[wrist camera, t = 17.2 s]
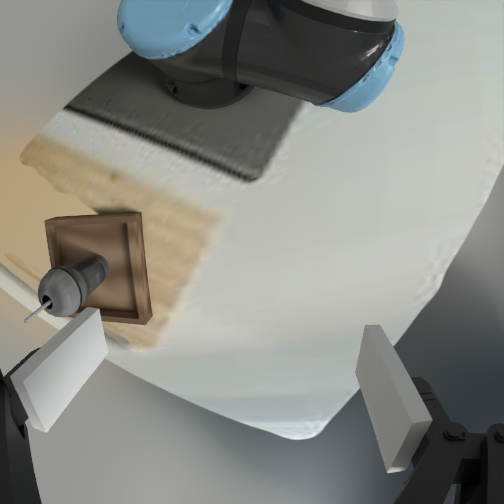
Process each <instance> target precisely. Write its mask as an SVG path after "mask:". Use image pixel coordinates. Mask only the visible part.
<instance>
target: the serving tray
mask: <svg viewBox="0 0 504 504" xmlns="http://www.w3.org/2000/svg"><path fill="white" fill-rule="evenodd" d="M45 228H46V236H47V242H48V249H49V256H50V262H51V267H52V269H53V268H55V267H61V266H66V265H69V264H71V263H74V262H76V261H79V260H81V259H84V258H87V257H89V256H93V255H101V256H103V257H104V258H105V259H106V260H107V261H108V264H109V267H110V271H109V275H108V276H107V277H106V278H105V280H104V281H103V282H102V283H101V284H100V285H99V286H98V287H97V288H96V289H95V290H94V291H93V292H92V293H91V294H90V295H89V296H88V297H87V298H86V299H85V301H84V303H83V304H82V306H81V307H80V309H79V310H78V311H77V312H76V313H74V314H72V315H69V316H66V317H74V318H75V317H76V316H77V315H79V314H80V313H81V312H82V311H83V310H84V309H86V308H87V307H91V308H99V310H100V316H101V321H108V322H118V323H129V324H140V325H146V324H147V322H148V321H149V320H150V318H151V317H152V316H153V315H152V308H151V301H150V294H149V286H148V278H147V269H146V260H145V250H144V240H143V228H142V215H141V213H120V214H99V215H81V216H64V217H55V218H51V219H48V220H45Z"/></svg>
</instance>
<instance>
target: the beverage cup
mask: <svg viewBox="0 0 504 504" xmlns="http://www.w3.org/2000/svg"><path fill="white" fill-rule="evenodd" d="M109 271H110V267H109V264H108V261H107V260H106V259H105V258H104V257H103V256H101V255H93V256H89V257H87V258H84V259H81V260H79V261H76V262H74V263H71V264H69V265H66V266H61V267H55V268H53V269H50V270H49V271H48V273H46V274H45V276H44V277H43V278H42V280H41V281H40V285H39V288H38V297H39V301H40V303H41V307H40V308H38V309H37V310H36V311H35V312H34V313H32V314H31V315H30V316H29V317H27V318H26V319H25V320H24V322H25V323H27V322H28V321H30V320H31V319H32V318H33V317H34V316H36V315H37V314H38V313H39V312H41V311H42V310H43V309H44V310H45V311H46V312H48V313H49V314H51V315H53V316H55V317H66V316H69V315H72V314H74V313H76V312H77V311H78V310H79V309H80V307H81V306H82V304H83V303H84V301H85V299H86V298H87V297H88V296H89V295H90V294H91V293H92V292H93V291H94V290H95V289H96V288H97V287H98V286H99V285H100V284H101V283H102V282H103V281H104V280H105V278H106V277H107V276H108V275H109Z"/></svg>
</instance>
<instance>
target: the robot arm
mask: <svg viewBox="0 0 504 504" xmlns="http://www.w3.org/2000/svg"><path fill="white" fill-rule="evenodd" d="M398 13H399V10H398V7H397V5H396V3H395V1H394V0H121V3H120V5H119V10H118V16H117V22H118V29H119V31H120V33H121V36H122V37H123V39H124V40H125V41H126V43H128V45H129V46H130V48H131V49H132V50H133V51H134V52H135V53H136V54H139V56H141V57H144V58H145V59H147V60H148V61H149V62H151V63H152V64H153V65H155V66H156V67H158V68H159V69H160V70H161V73H162V77H163V80H164V82H165V84H166V86H167V88H168V89H169V90H170V92H171V93H172V94H173V95H174V96H176V97H177V98H178V99H180V100H181V101H183V102H184V103H186V104H188V105H191V106H194V107H197V108H203V109H215V108H221V107H225V106H228V105H231V104H233V103H235V102H237V101H239V100H240V99H242V98H243V97H245V96H246V95H247V94H248V93H249V92H250V91H251V90H252V89H253V88H254V86H256V87H260V88H263V89H267V90H271V91H274V92H278V93H281V94H285V95H288V96H291V97H295V98H298V99H301V100H304V101H307V102H310V103H312V104H314V105H315V106H320V107H329V108H332V109H336V110H339V111H342V112H349V113H352V112H357V111H360V110H362V109H364V108H366V107H367V106H368V105H370V104H371V103H372V102H373V101H374V100H375V99H376V98H377V97H378V95H379V94H380V93H381V92H382V90H383V89H384V88H385V86H386V85H387V83H388V81H389V80H390V78H391V76H392V74H393V73H394V70H395V68H394V66H395V63H396V62H397V61H398V60H399V58H400V56H401V53H402V50H403V45H404V32H403V29H402V27H401V26H400V25H399V24H398V23H397V22H396V21H395V20H396V18H397V15H398ZM107 354H108V351H107V346H106V342H105V337H104V332H103V327H102V321H101V316H100V310H99V308H91V307H87V308H86V309H84V310H83V311H82V312H81V313H80V314H79V315H77V316H76V317H75V318H74V319H73V320H72V321H70V322H69V323H68V324H67V325H66V326H65V327H64V328H62V329H61V330H60V331H59V332H58V333H57V334H56V335H55V336H53V337H52V338H51V339H50V340H49V341H48V342H47V343H46V344H44V345H43V346H42V347H40V348H38V349H36V350H34V351H32V352H30V353H29V354H28V355H27V356H26V357H25V359H23V360H21V362H20V364H19V363H18V364H17V365H16V366H15V367H14V368H13V369H12V370H11V371H10V372H8V373H7V375H5V376H4V377H3V375H2V372H1V370H0V504H42V503H41V499H40V495H39V491H38V487H37V483H36V478H35V473H34V468H33V462H32V457H31V451H30V444H29V439H28V430H27V427H26V424H25V421H26V420H27V419H28V418H29V420H30V422H31V424H32V426H33V428H36V429H38V430H41V431H43V432H45V433H47V432H48V430H49V429H50V428H51V426H52V425H53V424H54V422H55V421H56V420H57V418H58V417H59V416H60V414H61V413H62V412H63V410H64V409H65V408H66V406H67V405H68V404H69V403H70V401H71V400H72V399H73V397H74V396H75V395H76V393H77V392H78V391H79V389H80V388H81V387H82V386H83V384H84V383H85V382H86V381H87V379H88V378H89V377H90V375H91V374H92V373H93V372H94V370H95V369H96V368H97V367H98V365H99V364H100V363H101V362H102V360H103V359H104V358H105V357H106V355H107ZM355 373H356V376H357V379H358V382H359V385H360V388H361V391H362V393H363V396H364V399H365V403H366V406H367V409H368V412H369V415H370V418H371V421H372V424H373V427H374V431H375V434H376V437H377V441H378V444H379V447H380V451H381V454H382V457H383V461H384V464H385V468H386V471H387V473H391V472H397V471H403V470H406V469H407V467H408V466H409V464H410V462H411V461H412V464H413V466H414V470H413V472H412V473H411V475H410V476H409V478H408V479H407V481H406V483H405V485H404V487H403V488H402V490H401V492H400V493H399V494H398V496H397V498H396V499H395V501H394V502H393V504H443V502H444V500H445V498H446V496H447V494H448V491H449V489H450V487H451V485H452V484H456V493H455V500H454V504H504V424H501V423H500V424H494V425H491V426H490V428H489V429H488V430H487V432H486V433H485V434H478V433H468V431H467V429H466V428H464V426H463V425H461V424H459V423H456V422H451V421H450V419H449V417H448V415H447V414H446V412H445V410H444V408H443V407H442V405H441V403H440V402H439V400H437V396H436V395H435V393H433V390H432V388H431V386H430V385H429V383H428V382H426V381H425V380H424V379H422V378H421V377H412V378H410V376H409V375H408V373H407V371H406V369H405V367H404V366H403V364H402V362H401V360H400V359H399V357H398V355H397V353H396V352H395V350H394V348H393V346H392V345H391V343H390V341H389V339H388V338H387V336H386V334H385V333H384V331H383V329H382V328H381V326H380V325H365V328H364V333H363V338H362V343H361V348H360V353H359V357H358V362H357V366H356V371H355Z"/></svg>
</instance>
